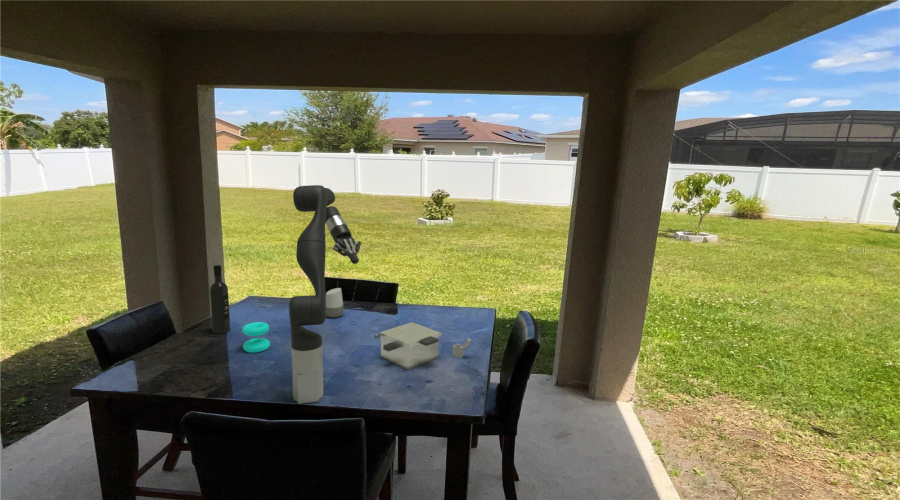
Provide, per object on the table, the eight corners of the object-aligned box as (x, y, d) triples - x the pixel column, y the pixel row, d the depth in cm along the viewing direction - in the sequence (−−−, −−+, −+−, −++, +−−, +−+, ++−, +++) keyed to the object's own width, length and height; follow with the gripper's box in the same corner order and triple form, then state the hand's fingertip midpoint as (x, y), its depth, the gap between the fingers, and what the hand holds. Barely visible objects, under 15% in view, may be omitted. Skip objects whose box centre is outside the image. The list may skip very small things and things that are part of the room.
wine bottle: (231, 329, 196) (227, 264, 191) (223, 334, 191) (219, 267, 186) (219, 329, 197) (215, 264, 192) (211, 333, 191) (206, 266, 186)
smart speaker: (324, 313, 222) (323, 287, 220) (342, 312, 225) (342, 286, 222) (324, 319, 213) (324, 292, 211) (344, 318, 216) (343, 291, 213)
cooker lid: (379, 335, 170) (379, 332, 170) (411, 324, 182) (412, 322, 182) (415, 350, 156) (415, 347, 156) (447, 338, 169) (448, 335, 169)
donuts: (268, 328, 172) (240, 330, 168) (270, 352, 174) (242, 355, 170) (269, 320, 181) (243, 322, 178) (270, 342, 183) (244, 345, 179)
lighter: (452, 356, 174) (452, 337, 172) (453, 355, 175) (453, 336, 174) (469, 358, 172) (470, 339, 171) (470, 357, 174) (471, 338, 172)
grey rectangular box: (371, 359, 169) (371, 335, 168) (416, 342, 187) (416, 321, 185) (399, 372, 158) (400, 347, 157) (445, 354, 176) (445, 331, 174)
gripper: (327, 224, 173) (346, 259, 167) (355, 222, 182) (373, 255, 176) (320, 236, 177) (338, 270, 171) (348, 233, 187) (365, 266, 181)
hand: (356, 262), depth 174 cm, fingers closed
